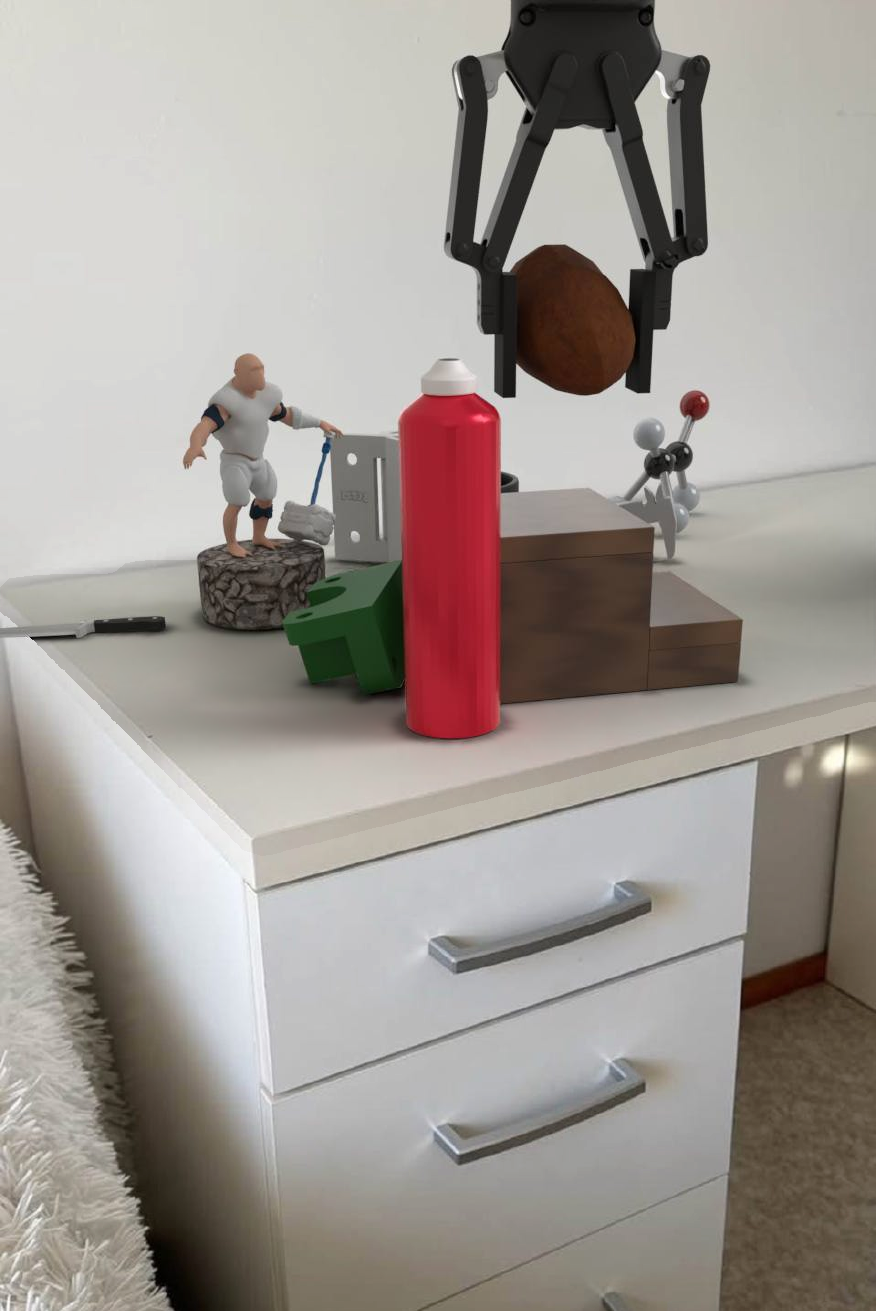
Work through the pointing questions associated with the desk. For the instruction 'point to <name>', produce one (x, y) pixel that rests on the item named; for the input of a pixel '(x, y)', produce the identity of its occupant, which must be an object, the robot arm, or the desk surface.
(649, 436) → the molecular model
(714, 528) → the desk surface
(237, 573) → the figurine
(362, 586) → the clamp
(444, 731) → the bottle
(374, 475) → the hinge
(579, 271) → the potato
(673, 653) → the step shelf
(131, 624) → the knife
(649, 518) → the caliper
